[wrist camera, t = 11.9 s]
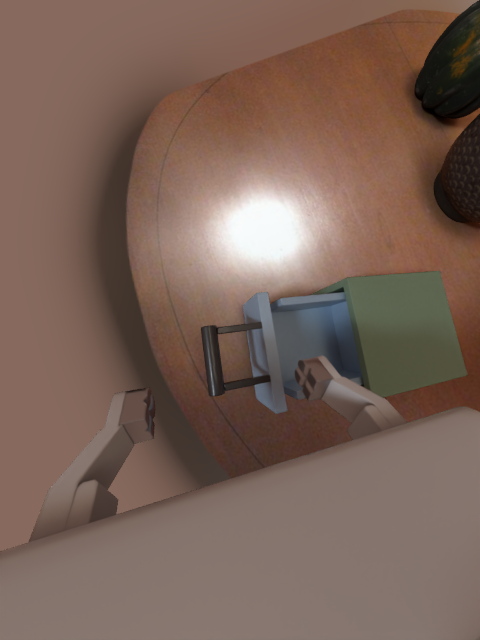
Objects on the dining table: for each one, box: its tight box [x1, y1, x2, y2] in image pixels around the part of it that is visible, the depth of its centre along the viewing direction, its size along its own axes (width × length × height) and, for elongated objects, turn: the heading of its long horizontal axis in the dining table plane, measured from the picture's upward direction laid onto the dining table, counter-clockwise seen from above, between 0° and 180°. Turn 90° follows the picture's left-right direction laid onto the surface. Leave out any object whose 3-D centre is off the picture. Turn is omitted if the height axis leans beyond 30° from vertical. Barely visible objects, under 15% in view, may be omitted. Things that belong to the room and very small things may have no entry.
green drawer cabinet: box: [311, 271, 467, 398], centre depth 26 cm, size 14×13×8 cm
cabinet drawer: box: [201, 292, 364, 414], centre depth 22 cm, size 18×11×6 cm, turn 99°
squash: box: [415, 0, 480, 119], centre depth 36 cm, size 14×15×15 cm
